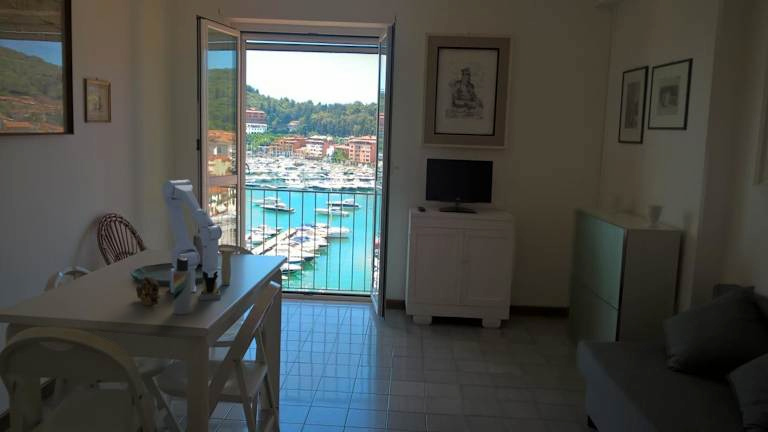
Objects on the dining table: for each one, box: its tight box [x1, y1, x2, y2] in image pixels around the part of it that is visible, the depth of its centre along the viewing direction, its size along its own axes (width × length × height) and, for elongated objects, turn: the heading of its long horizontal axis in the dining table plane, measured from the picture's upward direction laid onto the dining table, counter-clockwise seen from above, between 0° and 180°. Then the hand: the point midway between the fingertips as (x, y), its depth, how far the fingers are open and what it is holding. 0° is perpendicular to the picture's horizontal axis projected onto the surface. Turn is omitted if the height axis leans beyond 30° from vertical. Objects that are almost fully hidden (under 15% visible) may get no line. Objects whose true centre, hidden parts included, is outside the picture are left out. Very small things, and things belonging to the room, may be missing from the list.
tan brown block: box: [202, 279, 218, 294], centre depth 236 cm, size 5×3×6 cm, turn 108°
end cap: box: [199, 289, 221, 301], centre depth 236 cm, size 8×6×2 cm
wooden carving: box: [135, 276, 161, 306], centre depth 222 cm, size 16×5×10 cm, turn 47°
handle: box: [218, 247, 235, 286], centre depth 254 cm, size 5×6×15 cm
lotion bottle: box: [173, 257, 192, 316], centre depth 215 cm, size 6×6×20 cm
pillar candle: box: [192, 232, 203, 266], centre depth 290 cm, size 10×10×15 cm
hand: (209, 291), depth 236 cm, fingers closed on tan brown block, 3 cm apart
